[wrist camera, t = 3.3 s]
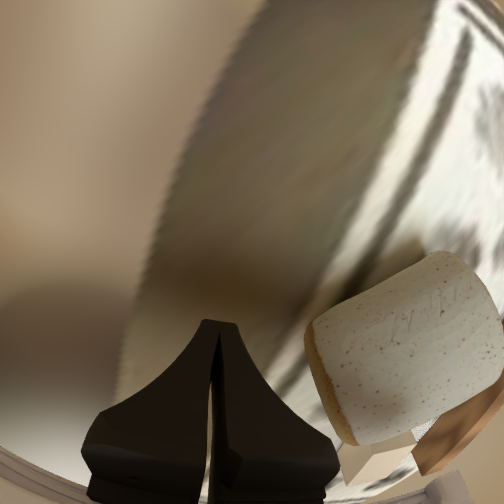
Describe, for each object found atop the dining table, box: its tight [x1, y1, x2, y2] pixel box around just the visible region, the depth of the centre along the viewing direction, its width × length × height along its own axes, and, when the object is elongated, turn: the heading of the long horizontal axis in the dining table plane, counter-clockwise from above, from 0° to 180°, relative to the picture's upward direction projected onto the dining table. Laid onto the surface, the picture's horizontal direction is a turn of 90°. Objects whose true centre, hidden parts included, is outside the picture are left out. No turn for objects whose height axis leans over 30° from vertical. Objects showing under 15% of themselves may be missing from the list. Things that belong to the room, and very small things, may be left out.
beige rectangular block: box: [337, 429, 417, 487], centre depth 19 cm, size 6×4×4 cm, turn 175°
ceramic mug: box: [304, 251, 504, 446], centre depth 13 cm, size 11×8×8 cm
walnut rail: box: [411, 321, 504, 476], centre depth 17 cm, size 24×3×4 cm, turn 169°
